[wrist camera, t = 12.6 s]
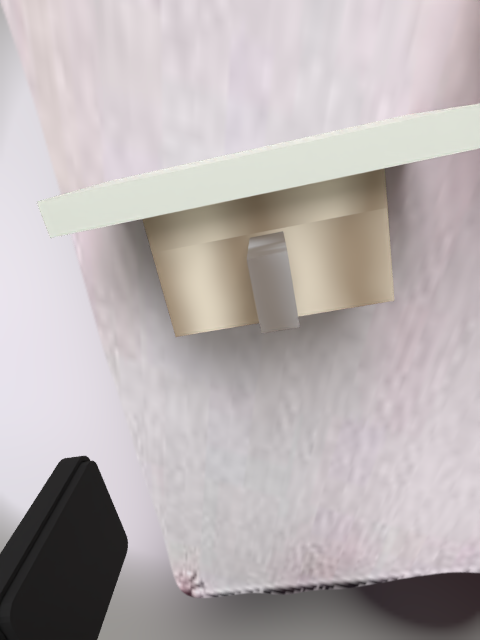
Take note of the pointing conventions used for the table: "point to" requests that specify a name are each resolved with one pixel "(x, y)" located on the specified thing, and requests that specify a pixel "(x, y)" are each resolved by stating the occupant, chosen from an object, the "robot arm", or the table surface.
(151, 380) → the table surface
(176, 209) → the wall board
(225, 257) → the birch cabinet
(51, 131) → the table surface
